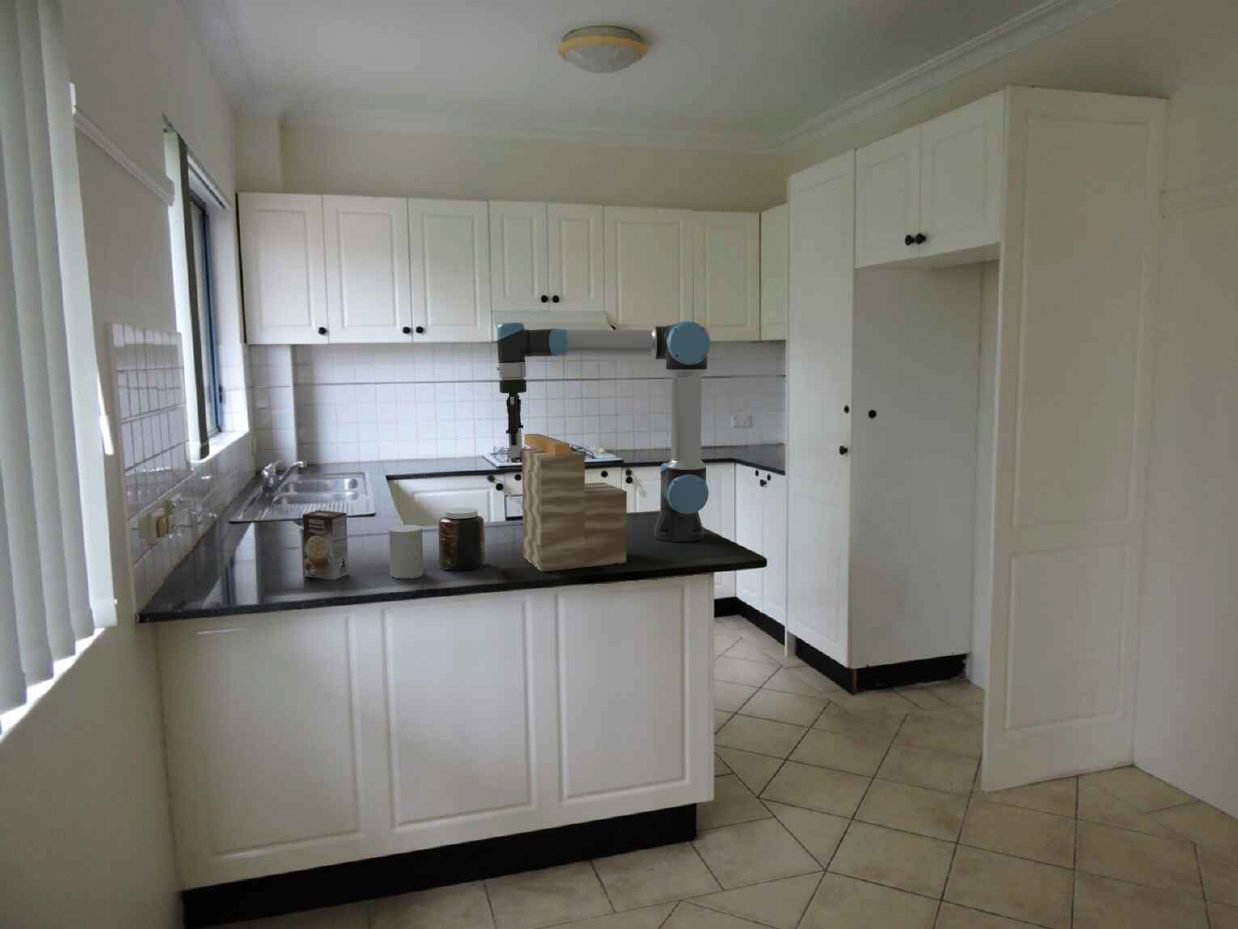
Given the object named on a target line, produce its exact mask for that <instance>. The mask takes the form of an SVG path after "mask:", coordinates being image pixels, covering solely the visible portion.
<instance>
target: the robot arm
mask: <svg viewBox="0 0 1238 929" xmlns="http://www.w3.org/2000/svg"><path fill="white" fill-rule="evenodd" d="M496 327H497V328H496V331H497V332H496V334H497V336H496V344H497V346H496V347H497V359H498V362H497V363H498V367H496V371H499V372H498V378H500V379H499V384H498V385H499V392H500V394H508V397H507V398H506V401H505V403H506V411H507V412H506V413H507V423H508V424H507V425H508V426H507V429H506V430H505V434H507V435H508V445H509V446H508V447H509V449H508V451H509V458H520V457H521V449H523V439H522V438H523V437H522V429H524V424H522V422H521V421H522V420H521V417H522V416H521V411H522V409H521V408H522V407H521V405H522V399H521V398H520V395H519V394H522V393H523V394H524V393H526V392H527V388H528V387H527V380H526V379H525V378H526V377H527V365H526V364H527V363H526V357H528V358H530V357H531V358H532V357H534V358H535V357H555V358H556V357H564V356H567V357H568V356H570V357H571V356H576V357H577V356H579V357H580V356H581V357H582V356H583V357H585V356H589V357H591V356H593V357H594V356H595V357H597V356H599V357H600V356H601V357H602V356H608V357H610V356H612V357H613V356H614V357H615V356H622V357H623V356H627V357H628V356H629V357H632V356H634V357H637V356H638V357H642V356H644V357H646V356H647V357H648V356H649V357H651V358H652V359H653V360H665V364H666V365H665V371H666V372H667V373H668V374H669V375H670V377H671V380H670V381H671V384H670V385H671V394H670V395H671V396H670V397H671V398H670V399H671V401H670V403H671V405H670V406H671V408H670V409H671V411H670V412H671V413H670V414H671V416H670V417H671V418H670V424H671V426H670V428H671V430H670V432H671V433H670V460H669V462H663V463H662V464H661V466H660V471H659V473H660V506H659V507H660V509H659V510H660V511H659V515H658V518H657V519H656V520H657V521H656V523H655V526H654V529H653V530H654V531H653V533H654V537H655V539H658V540H662V541H665V542H675V543H680V542H681V543H684V542H685V543H686V542H687V543H689V542H696V541H701V540H703V539H704V537H705V532H704V526H703V523H702V519H701V517H700V513H699V511H701V510H702V509H703V508H704V507H705V506H706V505H707V502H708V499H709V492H710V491H709V487H708V484H707V464H705V463H704V461H703V460H702V408H703V407H702V402H703V401H702V396H703V391H702V389H703V388H702V385H703V384H702V383H703V382H702V381H703V380H702V378H703V375H704V374H705V373H706V372H708V355H709V351H710V349H711V339H710V335H709V333H708V332H707V330H706V329H705V328H704V327H703V326H702V325H700V324H699V323H697V322H695V321H691V320H690V321H689V320H686V321H681V322H677V323H674V324H670V325H663V326H661V325H660V326H659V325H658V326H653V327H652V328H651V329H564V328H549V329H548V328H544V329H543V328H542V329H526V328H525V325H524V323H523V322H503V323H499V324H498V325H497V326H496Z"/></svg>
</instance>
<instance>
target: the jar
mask: <svg viewBox="0 0 1238 929" xmlns="http://www.w3.org/2000/svg"><path fill="white" fill-rule="evenodd" d="M437 530H438V531H437V532H438V565H439V569H441V570H444V571H448V572H467V571H468V572H469V570H470V571H474V570H473V569H476V570H478V569H477V568H479V569H481V568H480V567H482V568H483V567H485V566H486V531H485V519H484V517H483V516H481V515H479V514H478V509H477V508H474V507H453V508H448V509H445V510H444V516H443V517H440V518H439V519H438V528H437ZM484 565H485V566H484Z"/></svg>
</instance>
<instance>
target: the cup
mask: <svg viewBox="0 0 1238 929" xmlns="http://www.w3.org/2000/svg"><path fill="white" fill-rule="evenodd" d="M388 539H389V540H388V542H389V564H390V565H389V567H390V570H389V573H390V575H391V576H393V577H395V578H394V579H396V578H411V579H415V578H414V577H417V578H419V577H418V576H420V575H422V576H423V575H424V549H423V548H424V547H423V546H424V545H423V527H422V526H420V525H416V524H404V525H403V524H401V525H396V526H392V527H389V528H388ZM391 576H390V577H391ZM420 577H421V576H420Z"/></svg>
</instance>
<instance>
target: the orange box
mask: <svg viewBox="0 0 1238 929" xmlns="http://www.w3.org/2000/svg"><path fill="white" fill-rule="evenodd" d="M524 445H525V446H528V447H531V448H532V449H538V450H541V451H544V452H546V453H549V454H552V455H554V456H558V455H570V450H571V449H570V445H571V444H570V443H569V442H567V441H566V442H565V441H562V440H561V439H557V438H555V437H552V436H551V437H550V436H547V435H543V434H540V433H524Z"/></svg>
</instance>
